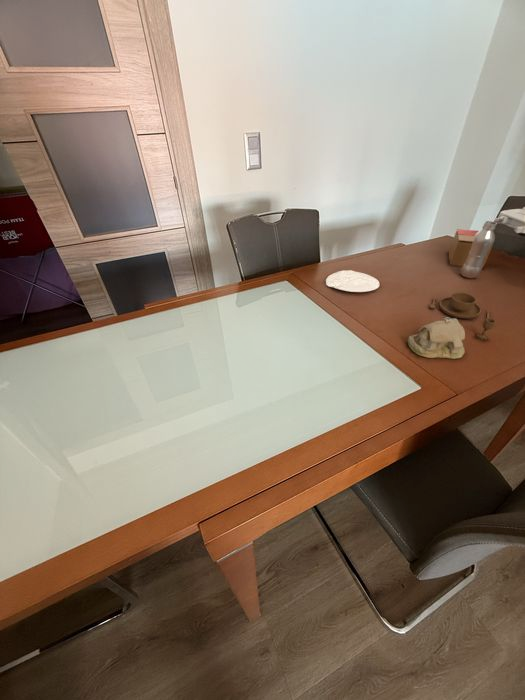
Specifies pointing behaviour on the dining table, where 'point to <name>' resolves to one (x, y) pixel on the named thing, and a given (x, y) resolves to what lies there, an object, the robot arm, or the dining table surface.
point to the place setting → (464, 310)
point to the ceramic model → (439, 339)
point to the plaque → (352, 281)
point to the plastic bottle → (479, 250)
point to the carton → (462, 249)
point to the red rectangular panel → (467, 232)
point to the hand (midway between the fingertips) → (505, 225)
